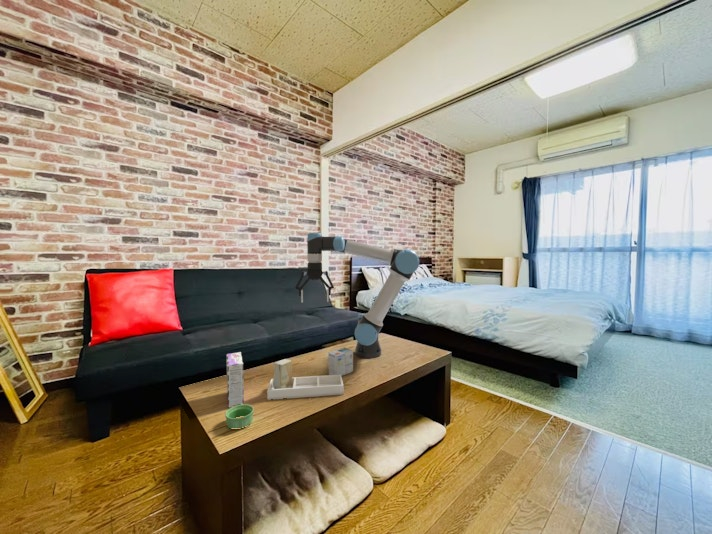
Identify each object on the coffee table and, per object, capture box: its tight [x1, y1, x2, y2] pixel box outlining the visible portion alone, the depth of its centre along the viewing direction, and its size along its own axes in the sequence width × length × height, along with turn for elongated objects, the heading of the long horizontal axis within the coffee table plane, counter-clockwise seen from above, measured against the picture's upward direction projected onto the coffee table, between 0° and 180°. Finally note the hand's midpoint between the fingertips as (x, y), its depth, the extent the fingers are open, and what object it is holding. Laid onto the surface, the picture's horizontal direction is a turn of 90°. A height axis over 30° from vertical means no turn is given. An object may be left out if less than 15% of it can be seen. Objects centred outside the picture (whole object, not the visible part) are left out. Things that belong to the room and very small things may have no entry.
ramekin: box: [224, 403, 255, 429], centre depth 99 cm, size 9×9×4 cm
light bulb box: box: [327, 347, 354, 377], centre depth 140 cm, size 11×7×11 cm, turn 134°
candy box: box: [226, 351, 245, 408], centre depth 115 cm, size 14×6×16 cm, turn 24°
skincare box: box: [273, 358, 293, 389], centre depth 120 cm, size 6×4×12 cm
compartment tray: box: [266, 374, 345, 401], centre depth 122 cm, size 30×11×4 cm, turn 98°
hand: (315, 302), depth 154 cm, fingers open, 13 cm apart
